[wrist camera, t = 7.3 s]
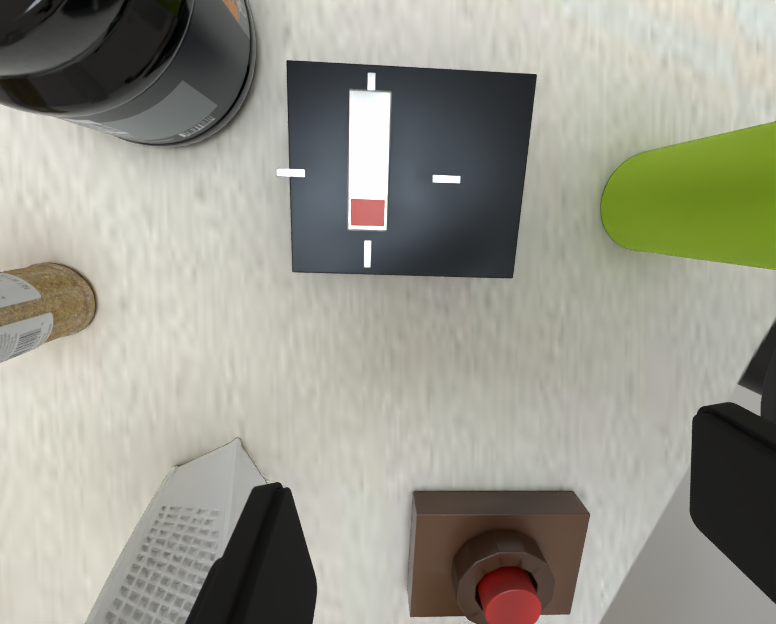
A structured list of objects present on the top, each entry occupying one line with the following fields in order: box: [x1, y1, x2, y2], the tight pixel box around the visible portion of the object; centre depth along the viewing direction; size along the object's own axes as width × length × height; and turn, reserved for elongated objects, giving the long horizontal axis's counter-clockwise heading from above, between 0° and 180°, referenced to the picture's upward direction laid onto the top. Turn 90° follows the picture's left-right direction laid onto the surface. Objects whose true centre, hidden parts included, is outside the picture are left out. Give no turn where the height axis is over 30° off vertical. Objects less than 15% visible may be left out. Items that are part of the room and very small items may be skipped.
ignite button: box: [478, 566, 541, 624], centre depth 25 cm, size 4×4×2 cm
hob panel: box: [276, 60, 537, 278], centre depth 21 cm, size 13×10×3 cm
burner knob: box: [347, 89, 392, 232], centre depth 17 cm, size 5×2×5 cm, turn 178°
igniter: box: [407, 492, 590, 624], centre depth 27 cm, size 12×9×4 cm
